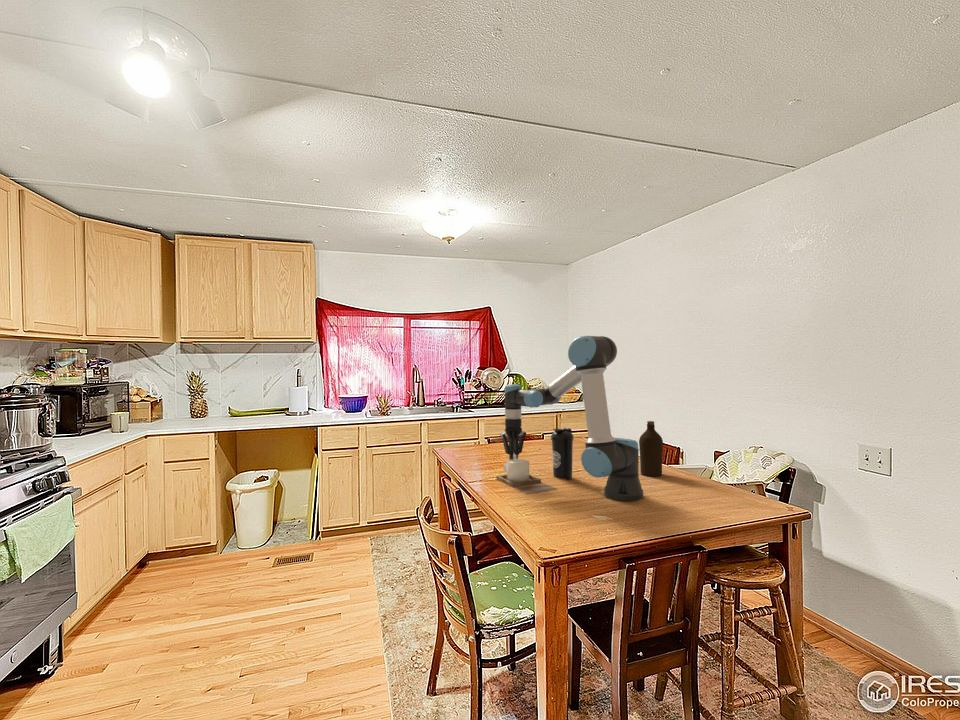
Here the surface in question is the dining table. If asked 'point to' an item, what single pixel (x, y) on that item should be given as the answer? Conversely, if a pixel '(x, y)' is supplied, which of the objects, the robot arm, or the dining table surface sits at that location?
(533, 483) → the brown flat rectangular tray
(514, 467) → the white pot with handle
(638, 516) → the dining table surface
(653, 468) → the olive oil
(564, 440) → the water bottle
